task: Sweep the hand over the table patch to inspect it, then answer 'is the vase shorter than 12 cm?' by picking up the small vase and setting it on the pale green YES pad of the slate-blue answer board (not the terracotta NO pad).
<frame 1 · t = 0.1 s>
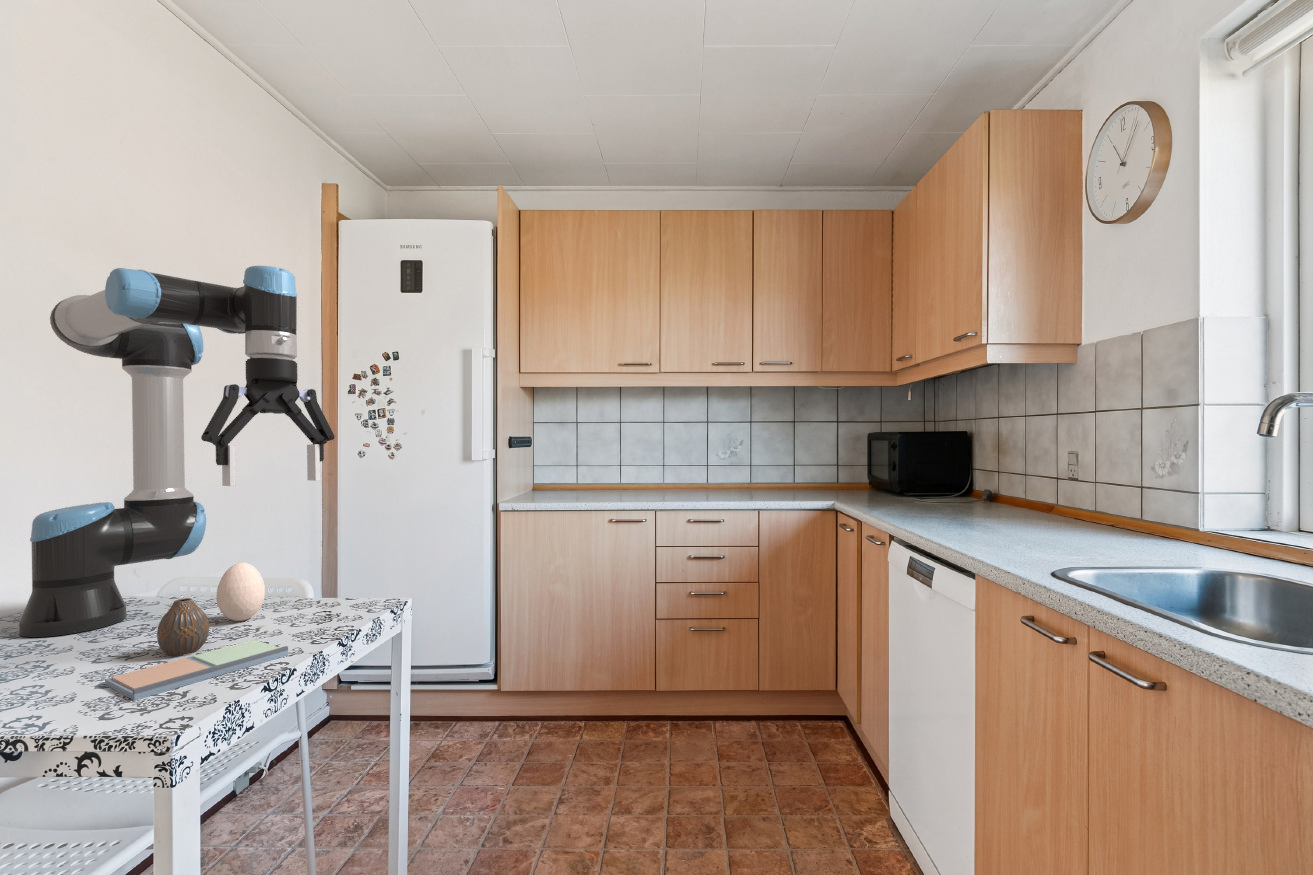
hand: (273, 483, 104), 28 cm above the table, fingers open, 13 cm apart
egg: (241, 621, 120), on the table
answer board: (202, 668, 94), on the table
vase: (183, 653, 102), on the table
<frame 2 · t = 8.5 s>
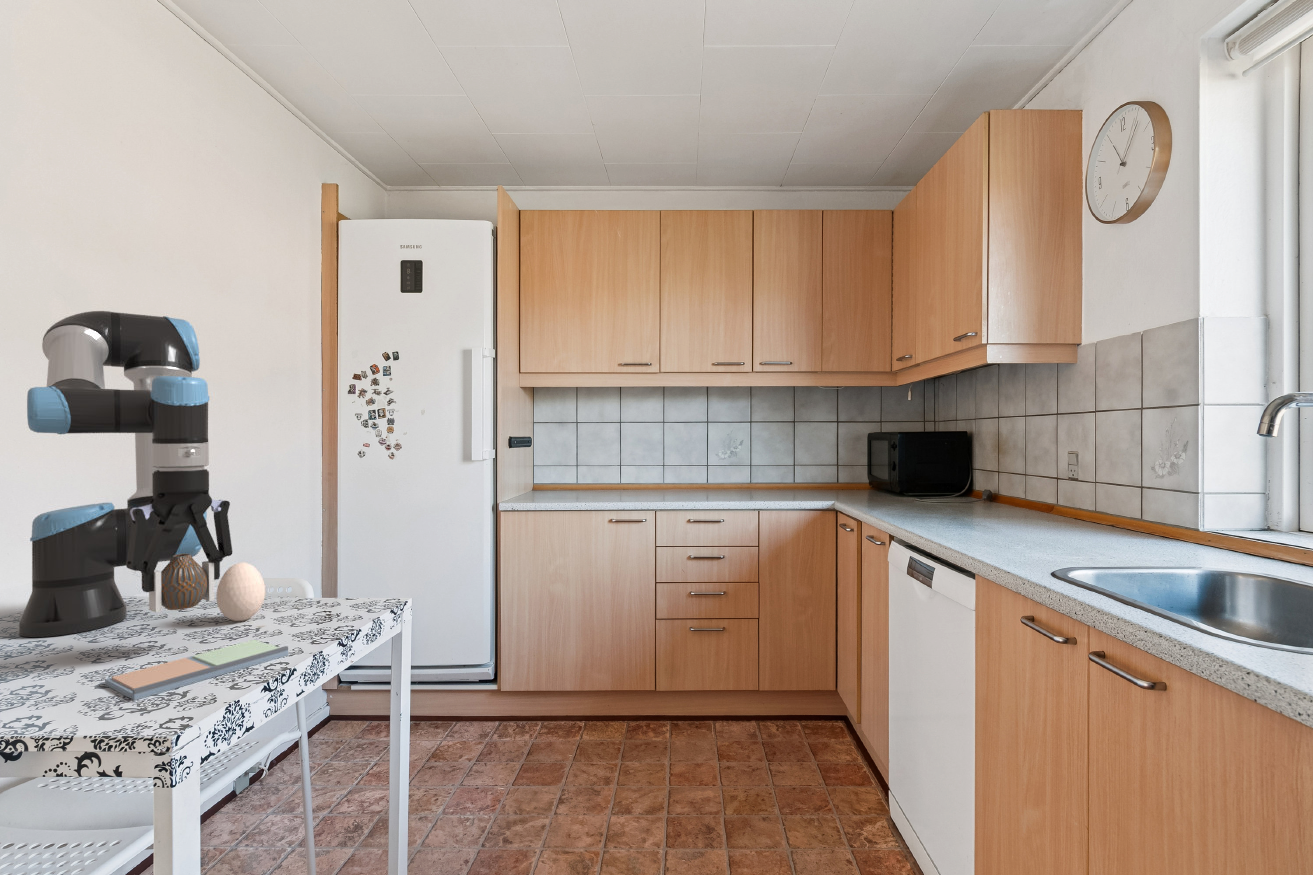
hand: (182, 604, 103), 8 cm above the table, fingers closed on vase, 7 cm apart
vase: (182, 607, 103), point 7 cm above the table, touching gripper
everything else where it was.
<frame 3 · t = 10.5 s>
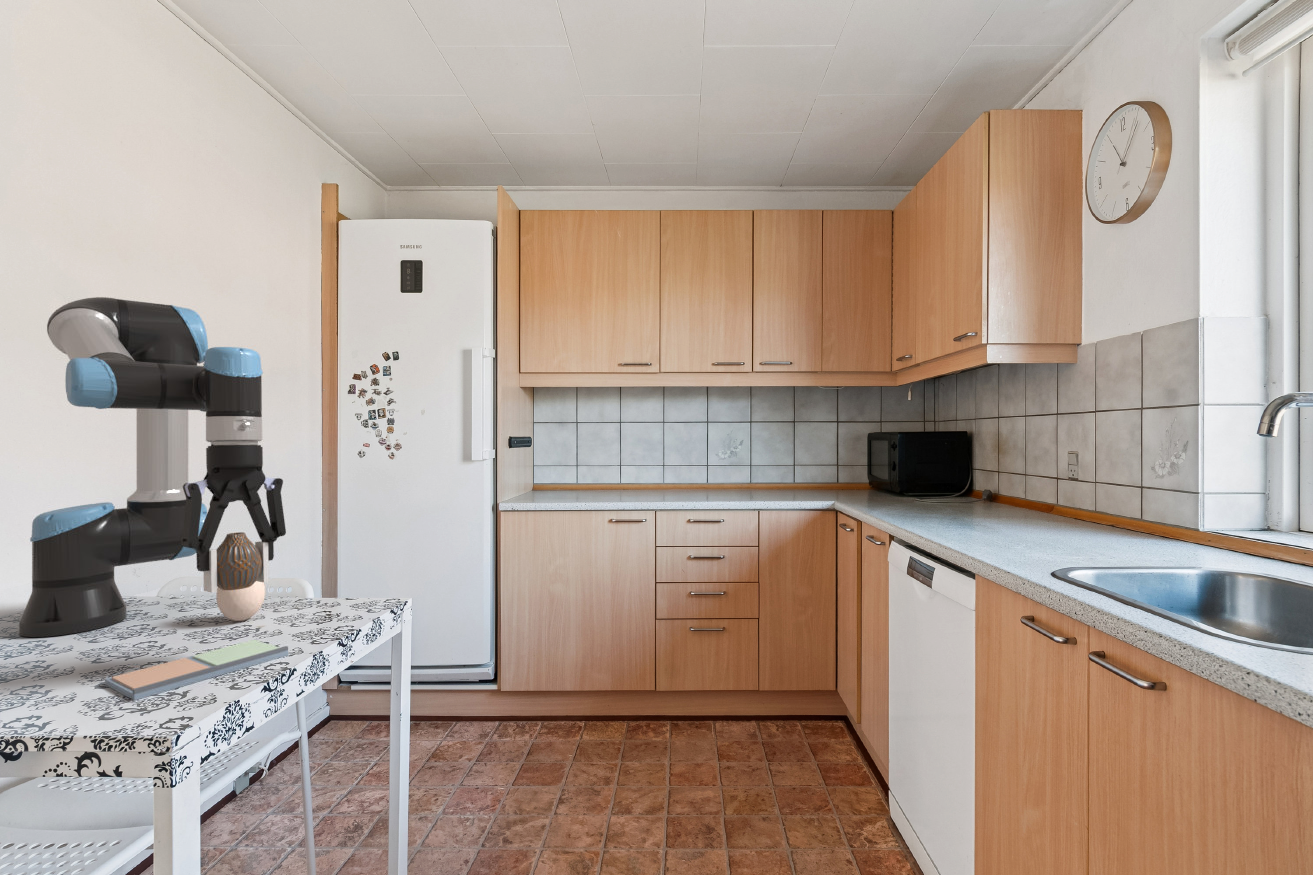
hand: (237, 585, 98), 12 cm above the table, fingers closed on vase, 7 cm apart
vase: (236, 588, 98), point 11 cm above the table, touching gripper
everything else where it was.
when the fingers open (2 cm above the table, at t = 12.5 s): vase stays where it is, resting on answer board.
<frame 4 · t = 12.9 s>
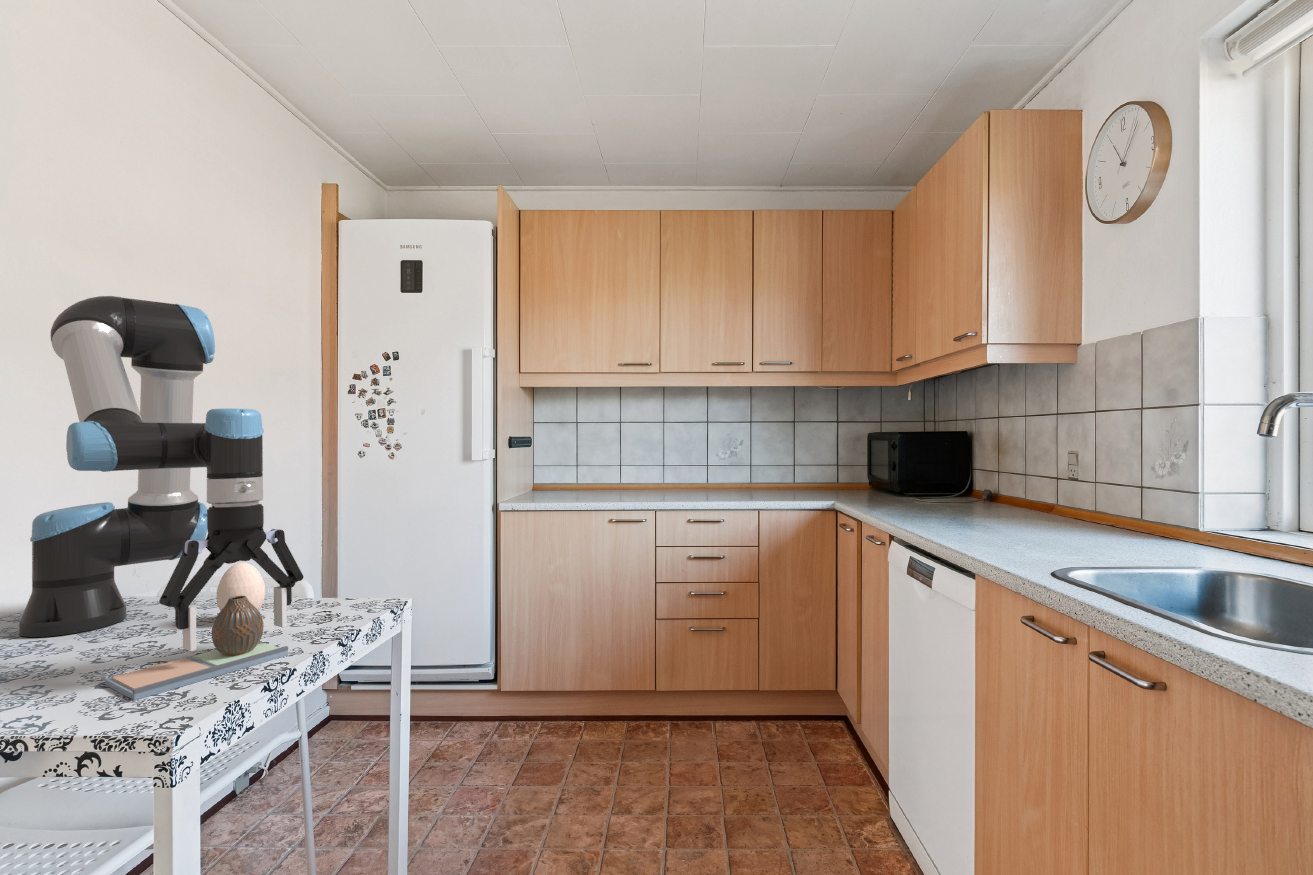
hand: (237, 636, 98), 4 cm above the table, fingers open, 12 cm apart
vase: (238, 652, 98), point 1 cm above the table, touching answer board
everything else where it was.
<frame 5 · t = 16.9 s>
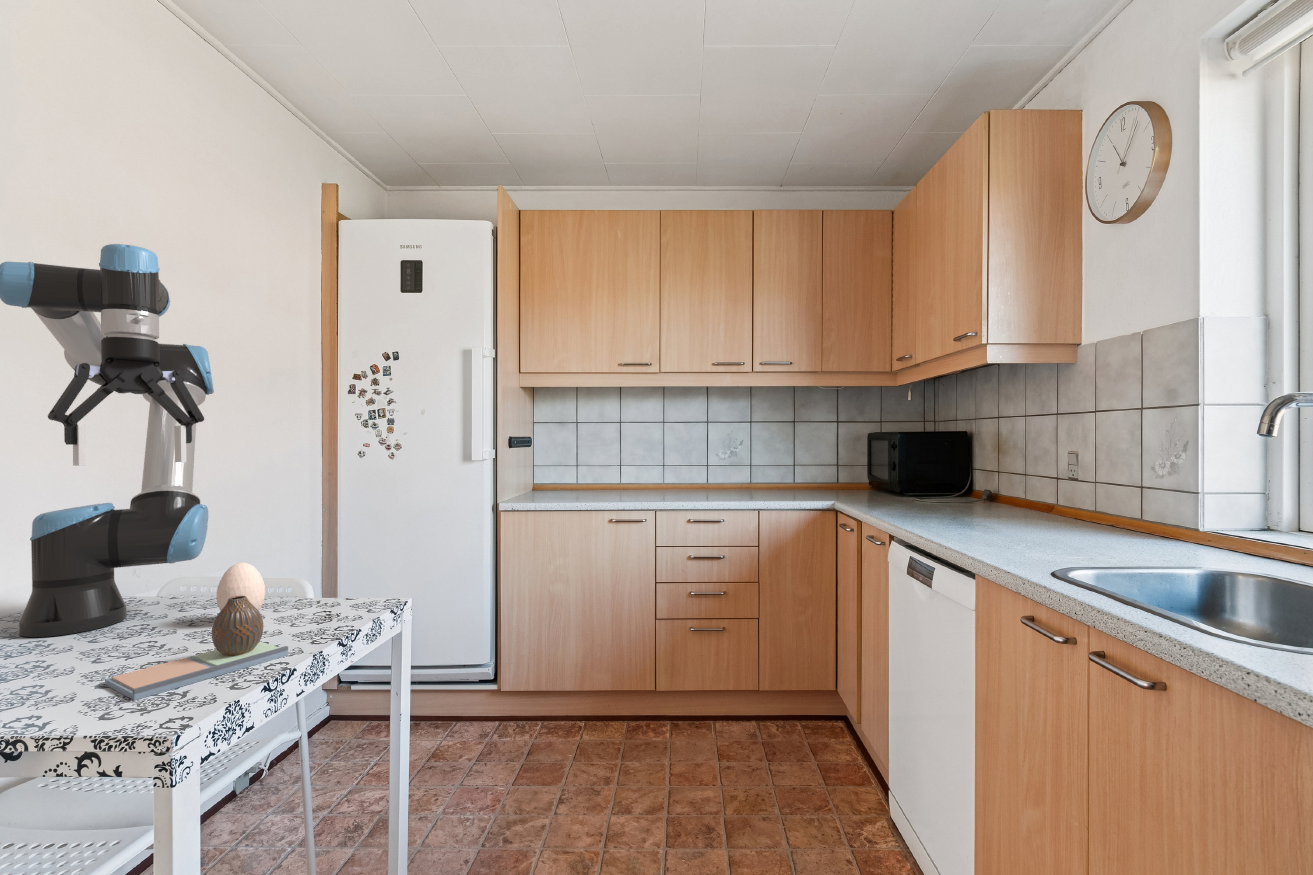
hand: (132, 464, 103), 32 cm above the table, fingers open, 13 cm apart
nothing on the table moved.
at the end: vase inside the target area on the answer board (0.2 cm from its centre), point 0.9 cm above the answer board's base; vase tilted 0°; the gripper is holding nothing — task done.
